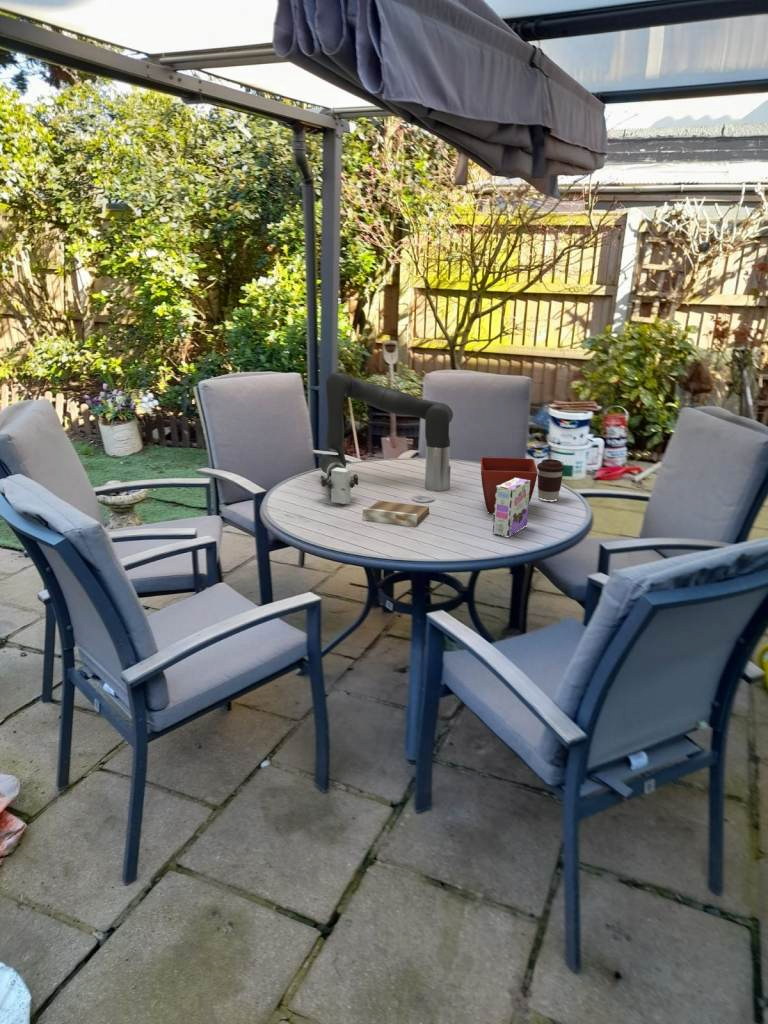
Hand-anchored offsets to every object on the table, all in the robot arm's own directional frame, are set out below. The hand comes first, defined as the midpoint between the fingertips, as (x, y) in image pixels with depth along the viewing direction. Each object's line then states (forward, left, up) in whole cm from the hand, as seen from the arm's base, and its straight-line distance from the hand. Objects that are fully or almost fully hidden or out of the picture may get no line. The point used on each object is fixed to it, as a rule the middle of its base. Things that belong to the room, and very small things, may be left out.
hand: (341, 485), depth 241 cm
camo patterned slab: (-18, +14, -8) cm, 24 cm away
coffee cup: (-78, +3, -8) cm, 78 cm away
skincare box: (0, -2, -7) cm, 7 cm away
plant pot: (-58, +12, -8) cm, 59 cm away
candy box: (-52, +34, -8) cm, 62 cm away
